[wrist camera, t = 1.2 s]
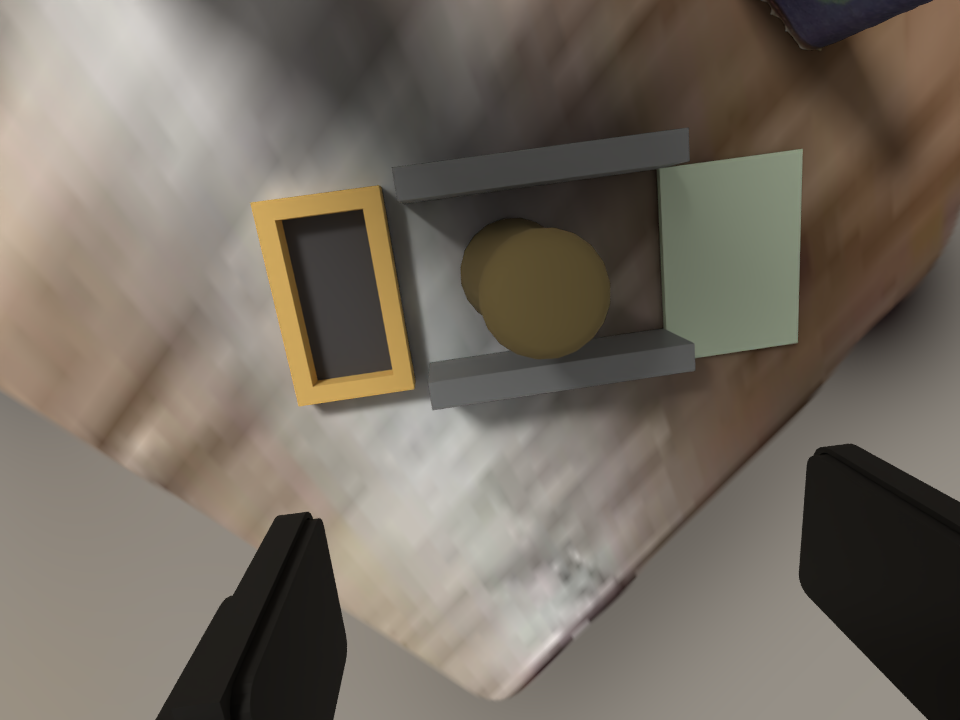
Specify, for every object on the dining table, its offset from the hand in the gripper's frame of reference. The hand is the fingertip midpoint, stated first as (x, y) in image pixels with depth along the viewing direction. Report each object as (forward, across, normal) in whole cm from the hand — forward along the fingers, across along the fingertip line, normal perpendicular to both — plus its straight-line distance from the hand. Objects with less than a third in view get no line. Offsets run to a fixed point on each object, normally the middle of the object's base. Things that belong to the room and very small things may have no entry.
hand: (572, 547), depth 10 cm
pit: (+21, +8, -2) cm, 23 cm away
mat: (+21, -14, -2) cm, 26 cm away
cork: (+22, -2, -3) cm, 22 cm away
